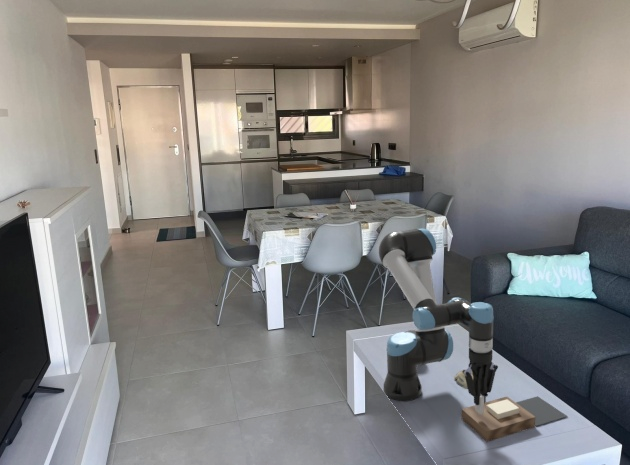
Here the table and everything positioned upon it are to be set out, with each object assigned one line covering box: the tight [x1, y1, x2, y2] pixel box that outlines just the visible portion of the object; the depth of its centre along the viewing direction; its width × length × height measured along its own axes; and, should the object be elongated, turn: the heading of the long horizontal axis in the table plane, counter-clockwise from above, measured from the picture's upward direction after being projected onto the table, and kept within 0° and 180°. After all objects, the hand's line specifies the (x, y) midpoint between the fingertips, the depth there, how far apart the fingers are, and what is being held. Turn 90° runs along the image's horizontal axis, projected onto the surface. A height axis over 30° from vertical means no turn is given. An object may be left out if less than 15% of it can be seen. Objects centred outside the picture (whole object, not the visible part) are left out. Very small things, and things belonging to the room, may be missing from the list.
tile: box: [486, 399, 519, 419], centre depth 169 cm, size 9×6×2 cm, turn 109°
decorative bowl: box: [453, 368, 473, 390], centre depth 197 cm, size 15×4×15 cm
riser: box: [461, 396, 536, 443], centre depth 169 cm, size 20×14×4 cm
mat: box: [516, 395, 568, 427], centre depth 175 cm, size 14×14×1 cm
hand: (479, 411), depth 165 cm, fingers closed
